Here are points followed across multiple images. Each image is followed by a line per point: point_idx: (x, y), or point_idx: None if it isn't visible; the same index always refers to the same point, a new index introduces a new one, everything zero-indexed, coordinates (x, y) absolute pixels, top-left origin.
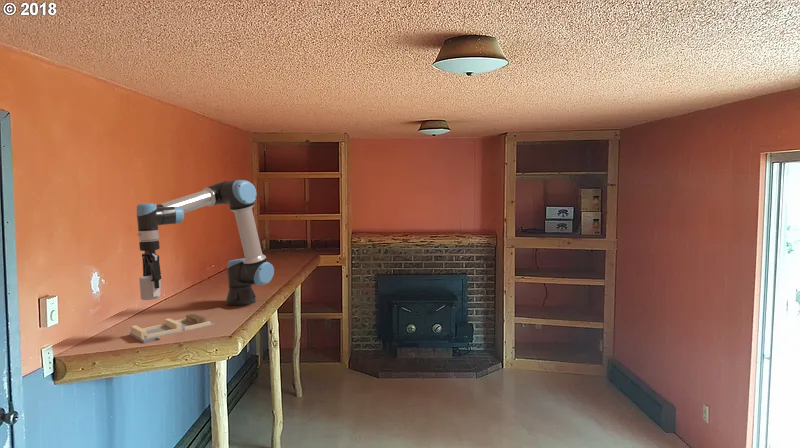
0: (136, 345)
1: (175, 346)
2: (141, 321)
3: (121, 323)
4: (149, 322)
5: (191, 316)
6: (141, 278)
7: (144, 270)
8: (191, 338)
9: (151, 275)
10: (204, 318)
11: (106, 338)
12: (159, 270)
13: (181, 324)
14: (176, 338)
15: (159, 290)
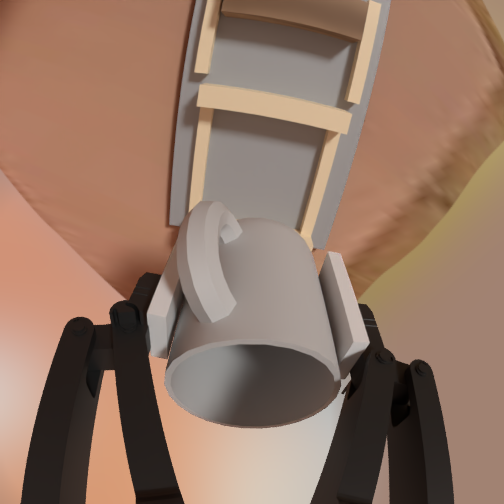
0: (320, 264)
1: (441, 218)
2: (27, 121)
3: (12, 174)
4: (58, 105)
5: (275, 11)
6: (192, 400)
7: (94, 409)
8: (430, 143)
9: (145, 340)
10: (367, 10)
11: (151, 271)
12: (439, 435)
13: (249, 52)
14: (382, 163)
15: (346, 281)
